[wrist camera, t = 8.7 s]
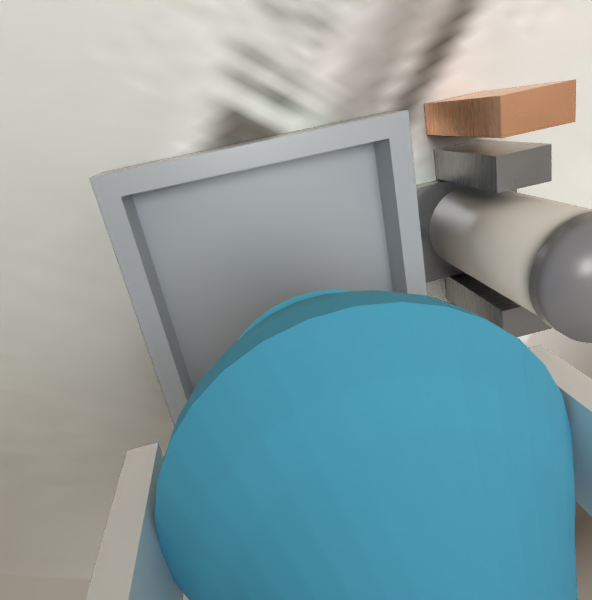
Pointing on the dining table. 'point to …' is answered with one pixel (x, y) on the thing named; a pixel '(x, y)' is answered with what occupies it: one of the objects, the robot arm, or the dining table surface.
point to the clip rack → (490, 176)
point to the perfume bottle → (371, 460)
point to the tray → (260, 234)
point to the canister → (522, 252)
